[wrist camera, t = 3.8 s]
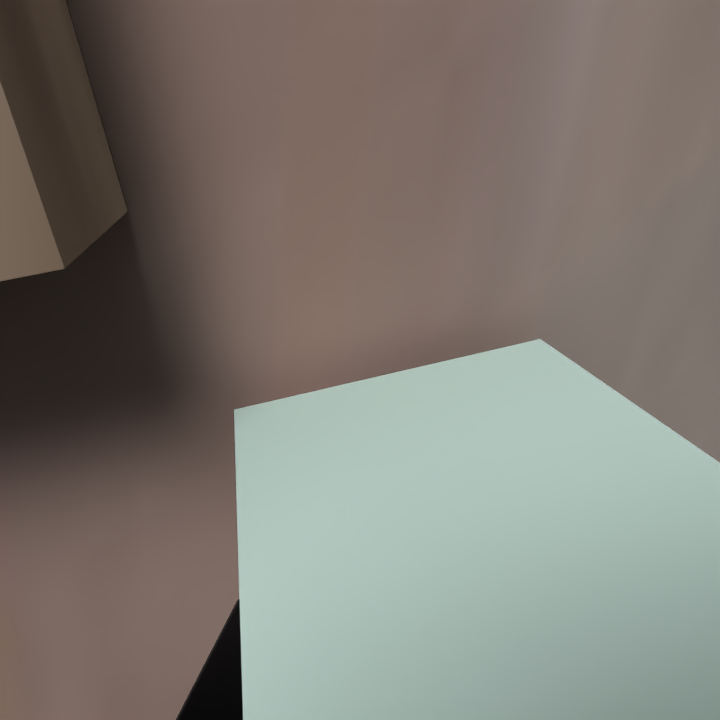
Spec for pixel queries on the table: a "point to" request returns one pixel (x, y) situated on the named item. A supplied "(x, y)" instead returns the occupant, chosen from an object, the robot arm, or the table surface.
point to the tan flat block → (49, 144)
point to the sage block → (475, 550)
